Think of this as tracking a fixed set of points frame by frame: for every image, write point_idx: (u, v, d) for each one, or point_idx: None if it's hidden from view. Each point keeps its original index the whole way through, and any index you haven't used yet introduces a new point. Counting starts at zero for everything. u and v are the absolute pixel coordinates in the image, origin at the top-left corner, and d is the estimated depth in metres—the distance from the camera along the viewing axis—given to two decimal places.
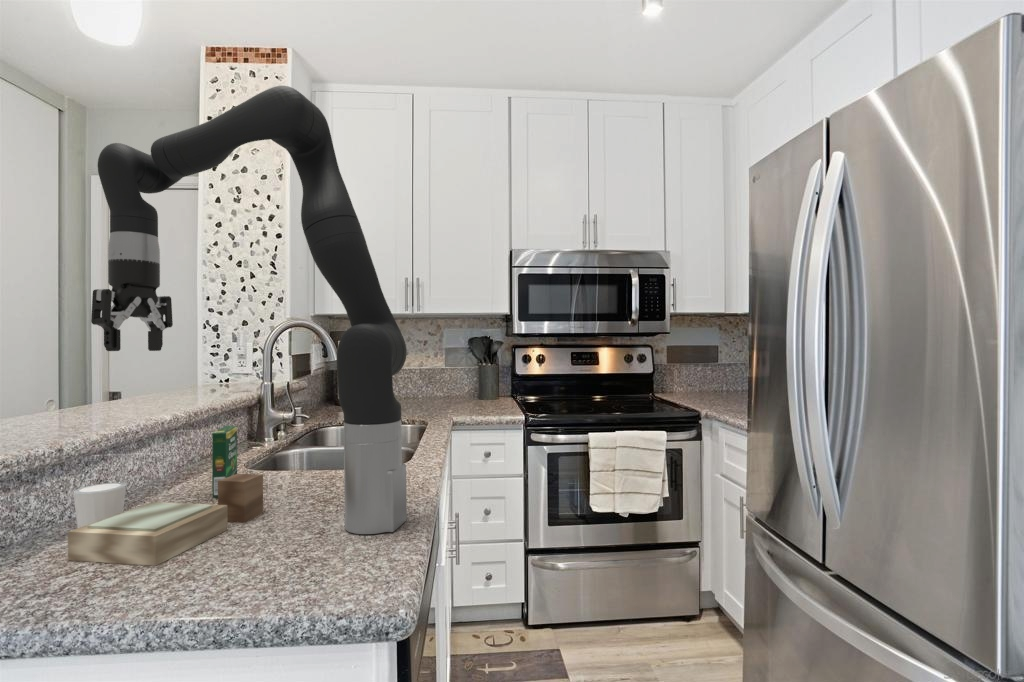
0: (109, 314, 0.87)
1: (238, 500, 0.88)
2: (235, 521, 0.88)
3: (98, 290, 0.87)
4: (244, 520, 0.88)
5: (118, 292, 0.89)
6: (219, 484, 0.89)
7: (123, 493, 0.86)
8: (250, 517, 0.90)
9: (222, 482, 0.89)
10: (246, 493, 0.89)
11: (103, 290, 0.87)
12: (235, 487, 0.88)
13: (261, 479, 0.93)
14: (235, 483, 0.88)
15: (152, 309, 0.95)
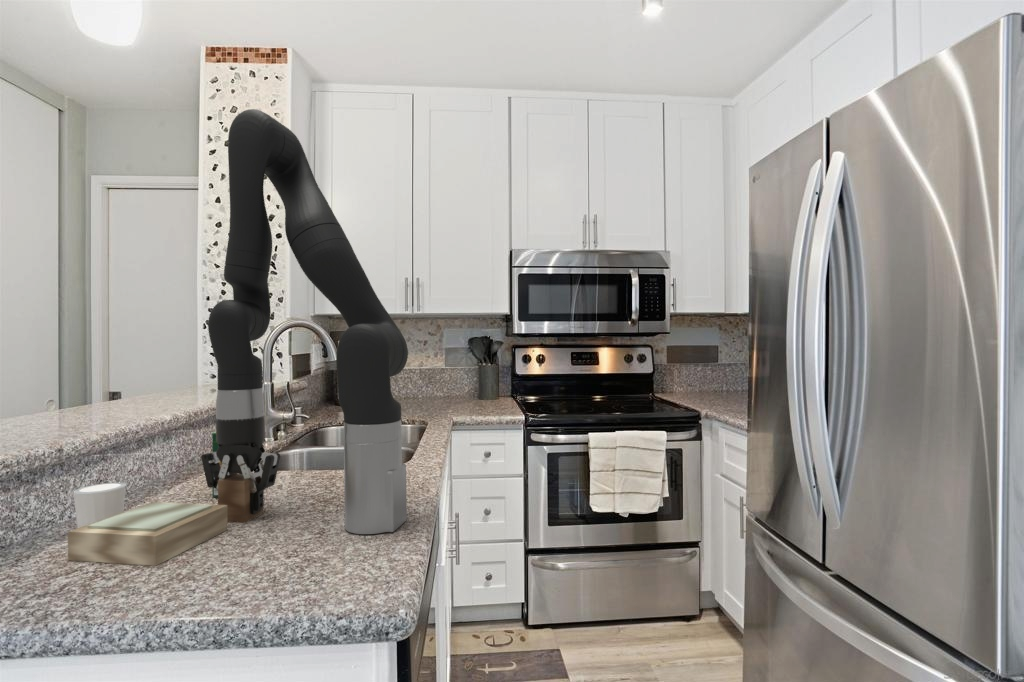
0: None
1: (238, 500, 0.88)
2: (235, 521, 0.88)
3: (274, 456, 0.90)
4: (244, 520, 0.88)
5: None
6: (219, 484, 0.89)
7: (123, 493, 0.86)
8: (250, 517, 0.90)
9: (222, 482, 0.89)
10: (246, 493, 0.89)
11: (278, 455, 0.91)
12: (235, 487, 0.88)
13: None
14: (235, 483, 0.88)
15: None
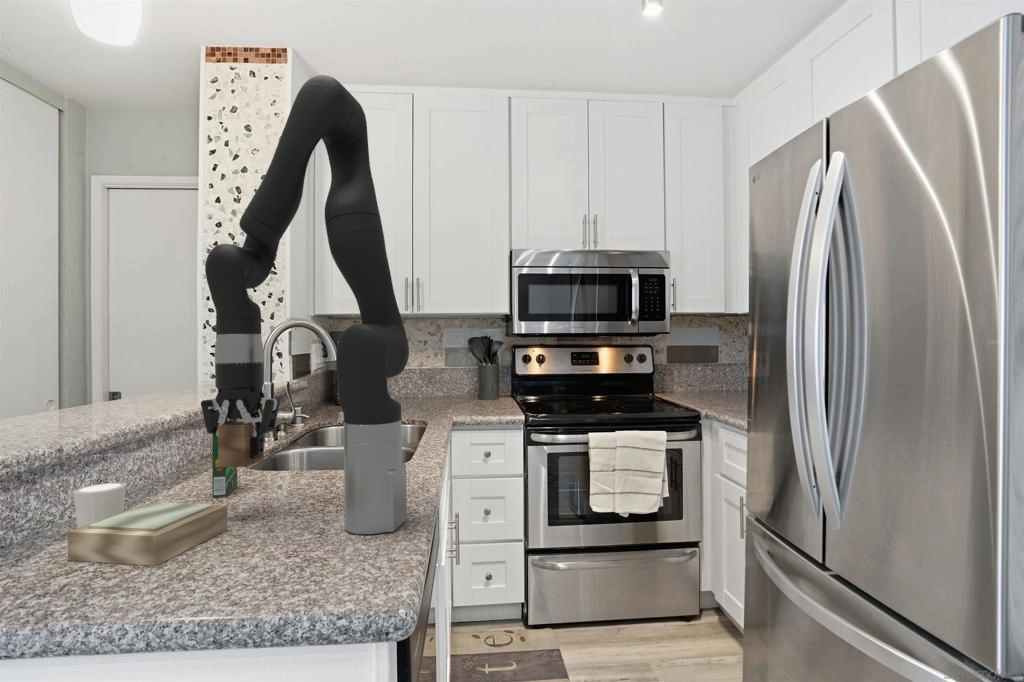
0: None
1: (238, 444, 0.88)
2: (235, 465, 0.88)
3: (274, 401, 0.90)
4: (245, 464, 0.88)
5: (264, 396, 0.91)
6: (219, 429, 0.89)
7: (123, 493, 0.86)
8: (250, 462, 0.89)
9: (222, 426, 0.89)
10: (246, 437, 0.89)
11: (278, 400, 0.91)
12: (235, 431, 0.88)
13: None
14: (235, 427, 0.88)
15: None
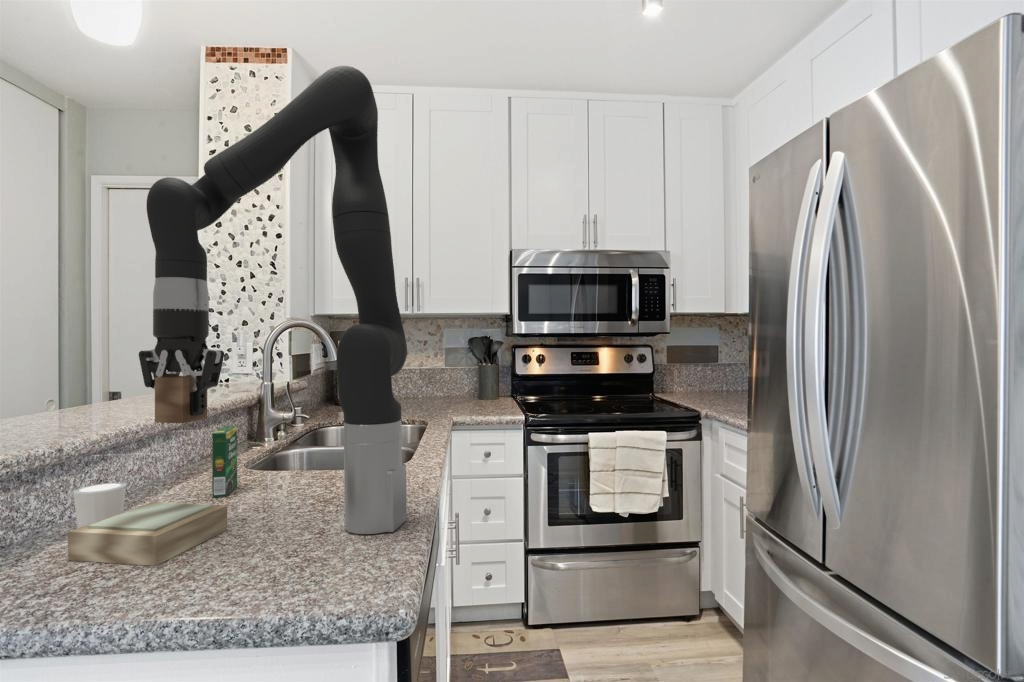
0: None
1: (176, 398, 0.80)
2: (173, 421, 0.80)
3: (217, 352, 0.82)
4: (182, 420, 0.80)
5: (207, 348, 0.83)
6: (156, 381, 0.81)
7: (123, 493, 0.86)
8: (190, 419, 0.82)
9: (159, 379, 0.81)
10: (185, 391, 0.81)
11: (221, 353, 0.83)
12: (172, 384, 0.80)
13: None
14: (173, 379, 0.80)
15: None
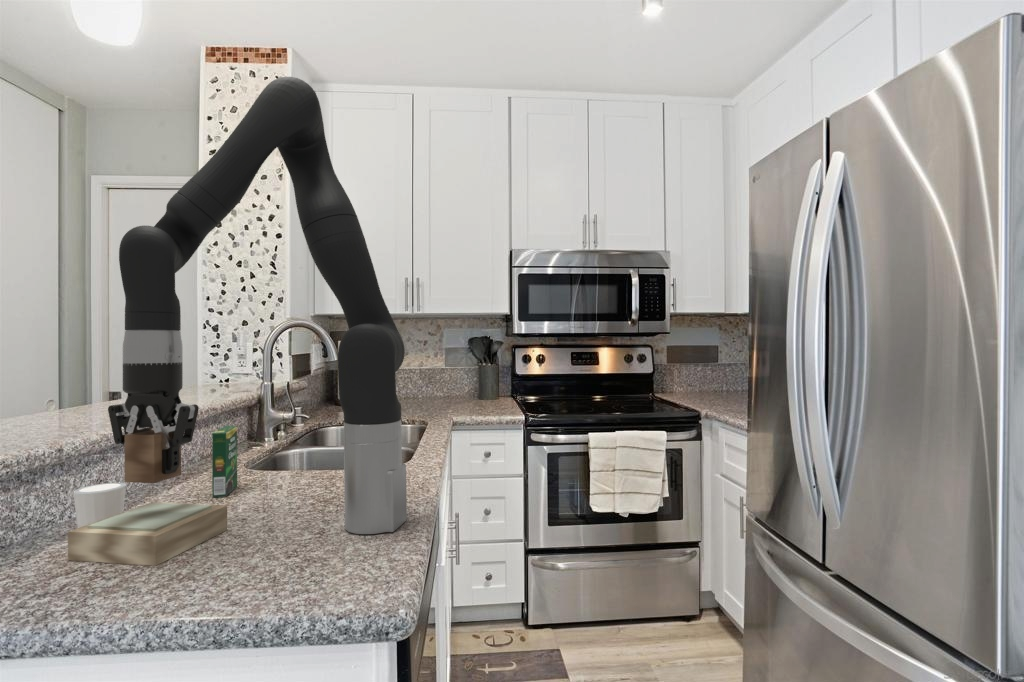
0: None
1: (147, 457, 0.76)
2: (144, 481, 0.77)
3: (190, 408, 0.78)
4: (154, 480, 0.76)
5: (181, 402, 0.79)
6: (126, 438, 0.77)
7: (123, 493, 0.86)
8: (162, 477, 0.78)
9: (129, 436, 0.77)
10: (157, 449, 0.77)
11: (196, 407, 0.79)
12: (143, 442, 0.77)
13: None
14: (143, 437, 0.77)
15: None
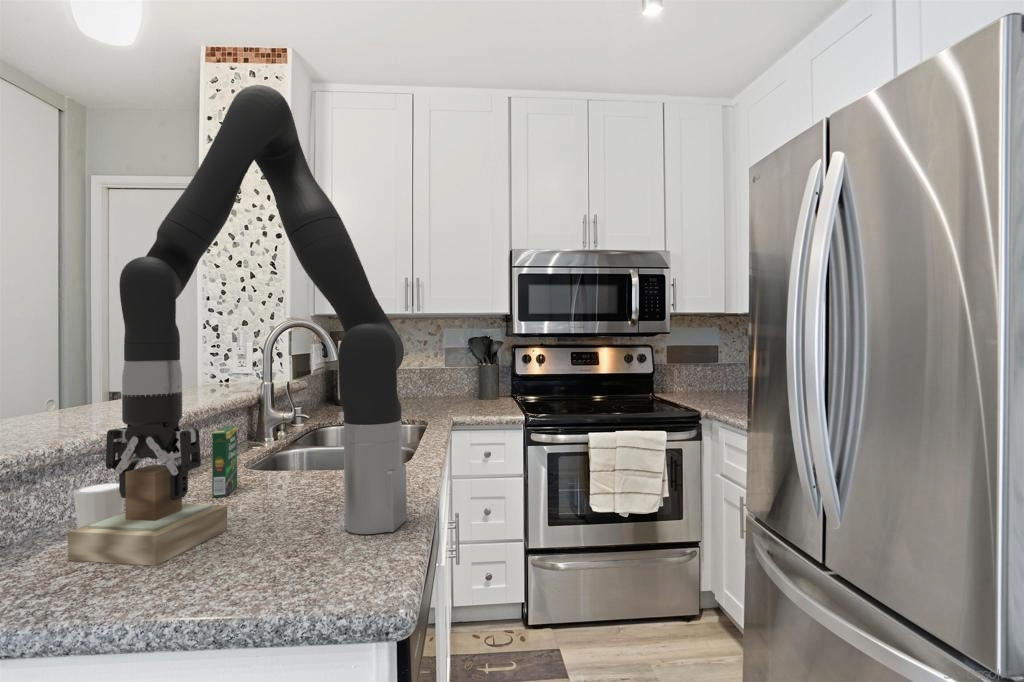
0: None
1: (148, 494, 0.76)
2: (145, 519, 0.76)
3: (190, 431, 0.78)
4: (155, 518, 0.76)
5: (180, 430, 0.79)
6: (127, 476, 0.77)
7: None
8: (163, 514, 0.78)
9: (130, 473, 0.77)
10: (158, 486, 0.77)
11: (196, 430, 0.79)
12: (144, 479, 0.76)
13: None
14: (144, 474, 0.76)
15: None
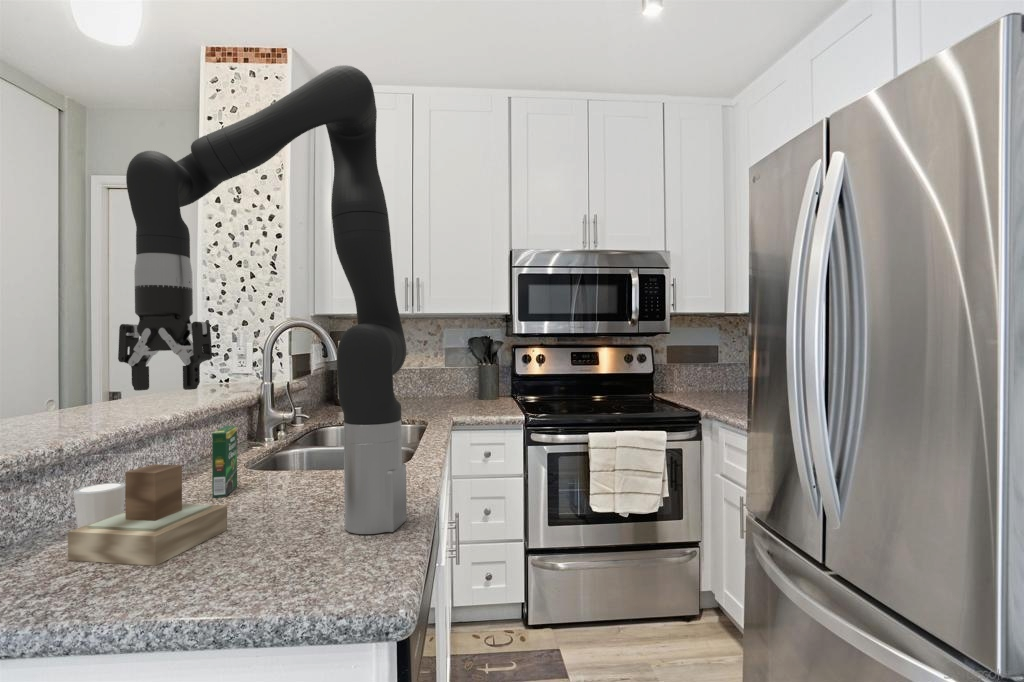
0: None
1: (148, 494, 0.76)
2: (145, 519, 0.76)
3: (202, 323, 0.80)
4: (155, 518, 0.76)
5: (191, 324, 0.81)
6: (127, 476, 0.77)
7: (123, 493, 0.86)
8: (163, 514, 0.78)
9: (130, 473, 0.77)
10: (158, 486, 0.77)
11: (207, 323, 0.81)
12: (144, 479, 0.76)
13: (180, 471, 0.81)
14: (144, 474, 0.76)
15: None
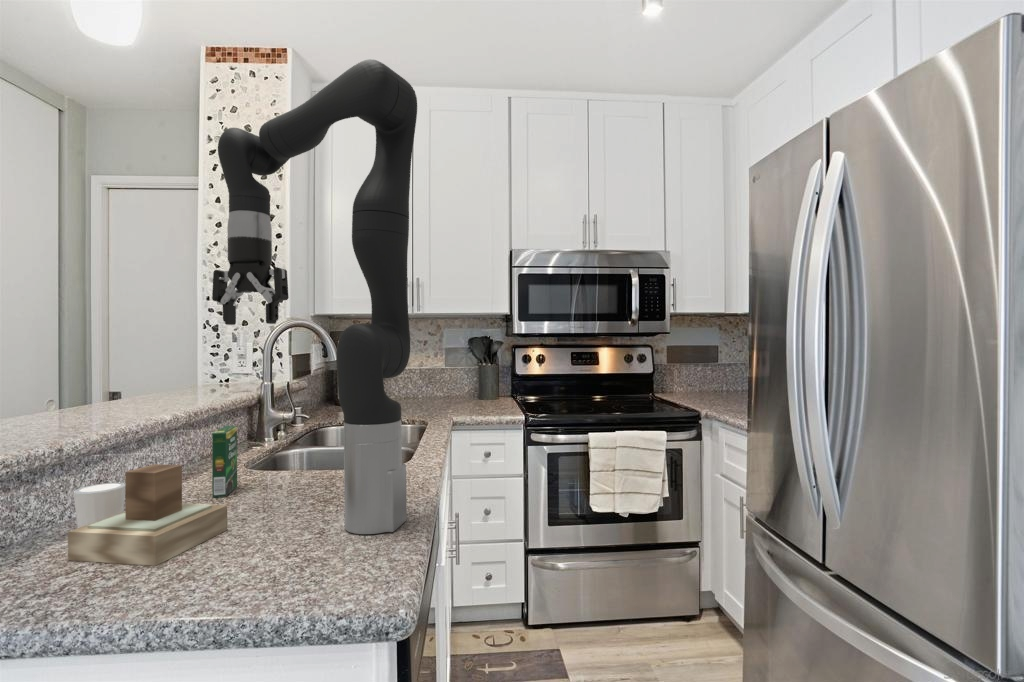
0: None
1: (148, 494, 0.76)
2: (145, 519, 0.76)
3: (281, 269, 0.97)
4: (155, 518, 0.76)
5: None
6: (127, 476, 0.77)
7: (123, 493, 0.86)
8: (163, 514, 0.78)
9: (130, 473, 0.77)
10: (158, 486, 0.77)
11: (284, 270, 0.98)
12: (144, 479, 0.76)
13: (180, 471, 0.81)
14: (144, 474, 0.76)
15: None
